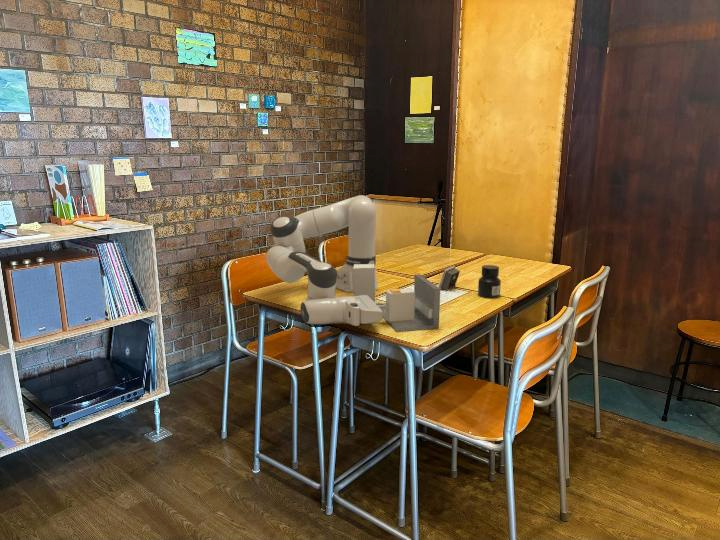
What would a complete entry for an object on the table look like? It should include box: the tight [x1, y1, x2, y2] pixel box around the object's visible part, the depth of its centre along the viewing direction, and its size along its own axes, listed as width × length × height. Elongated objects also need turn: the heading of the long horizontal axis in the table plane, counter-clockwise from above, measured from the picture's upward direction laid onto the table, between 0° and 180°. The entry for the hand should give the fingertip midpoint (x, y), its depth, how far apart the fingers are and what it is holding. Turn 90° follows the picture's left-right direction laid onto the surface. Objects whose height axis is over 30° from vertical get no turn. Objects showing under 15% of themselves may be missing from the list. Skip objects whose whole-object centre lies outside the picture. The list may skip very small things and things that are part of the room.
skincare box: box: [353, 264, 376, 302], centre depth 210 cm, size 8×7×16 cm
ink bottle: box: [477, 264, 502, 299], centre depth 224 cm, size 10×9×12 cm
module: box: [385, 287, 415, 322], centre depth 192 cm, size 9×4×11 cm, turn 104°
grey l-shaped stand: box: [382, 273, 441, 333], centre depth 192 cm, size 15×20×14 cm
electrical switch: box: [438, 265, 461, 291], centre depth 234 cm, size 9×5×9 cm, turn 145°
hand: (387, 306), depth 190 cm, fingers closed, pressing on module
